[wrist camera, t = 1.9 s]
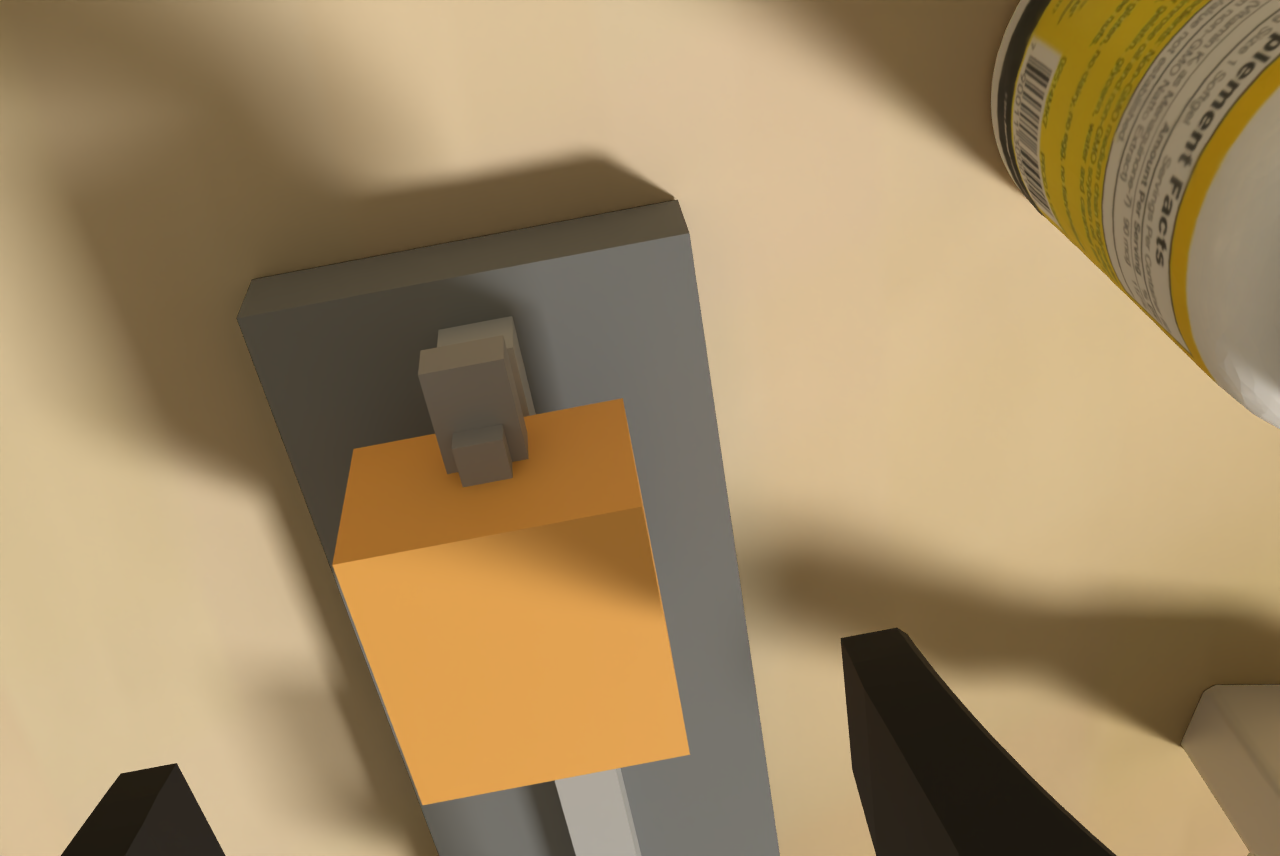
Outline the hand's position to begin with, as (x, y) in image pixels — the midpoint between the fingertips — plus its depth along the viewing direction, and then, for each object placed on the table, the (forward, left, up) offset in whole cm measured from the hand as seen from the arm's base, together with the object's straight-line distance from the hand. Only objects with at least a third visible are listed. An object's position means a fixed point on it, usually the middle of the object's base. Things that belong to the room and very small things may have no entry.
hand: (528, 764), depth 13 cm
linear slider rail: (-4, 0, -7) cm, 8 cm away
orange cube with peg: (+1, 0, -4) cm, 4 cm away
